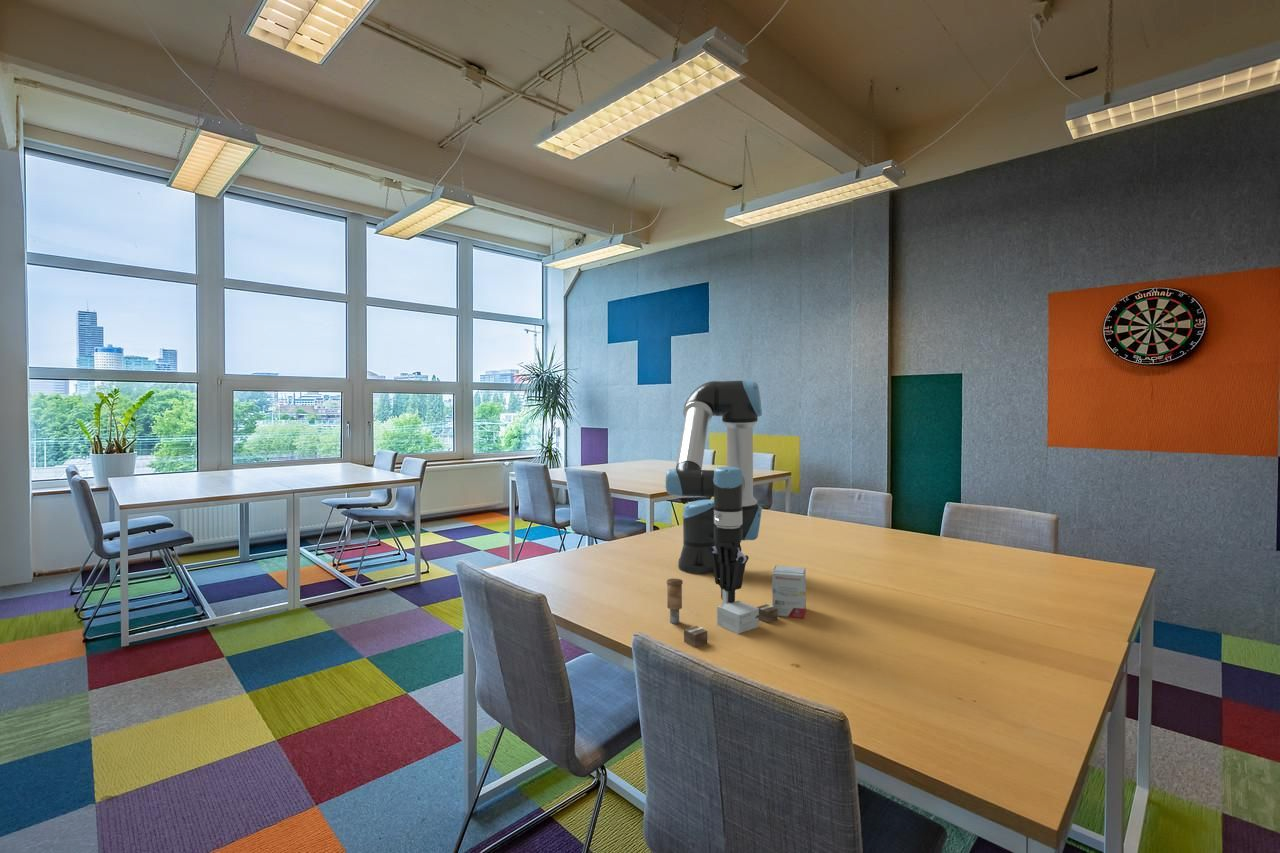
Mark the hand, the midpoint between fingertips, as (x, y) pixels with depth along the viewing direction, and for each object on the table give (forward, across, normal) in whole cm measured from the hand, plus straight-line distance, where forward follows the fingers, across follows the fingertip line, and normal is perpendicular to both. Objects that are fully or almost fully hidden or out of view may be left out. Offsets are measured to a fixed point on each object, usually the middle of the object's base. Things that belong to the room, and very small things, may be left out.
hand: (728, 613), depth 155 cm
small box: (+2, +5, -1) cm, 5 cm away
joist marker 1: (+2, +6, -17) cm, 18 cm away
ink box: (+2, +6, +17) cm, 18 cm away
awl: (+2, -7, -13) cm, 15 cm away
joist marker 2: (+2, +6, +8) cm, 10 cm away
